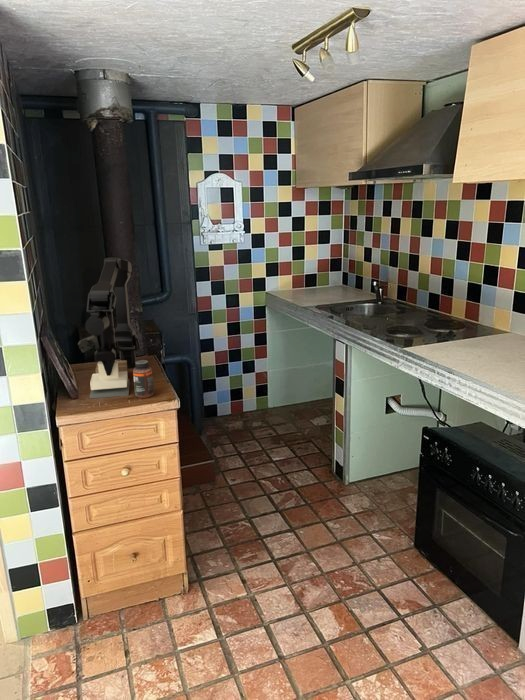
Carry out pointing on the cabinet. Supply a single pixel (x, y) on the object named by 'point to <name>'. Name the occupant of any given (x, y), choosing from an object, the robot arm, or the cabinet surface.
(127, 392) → the mat
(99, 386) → the lid
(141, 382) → the supplement bottle
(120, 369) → the storage box
